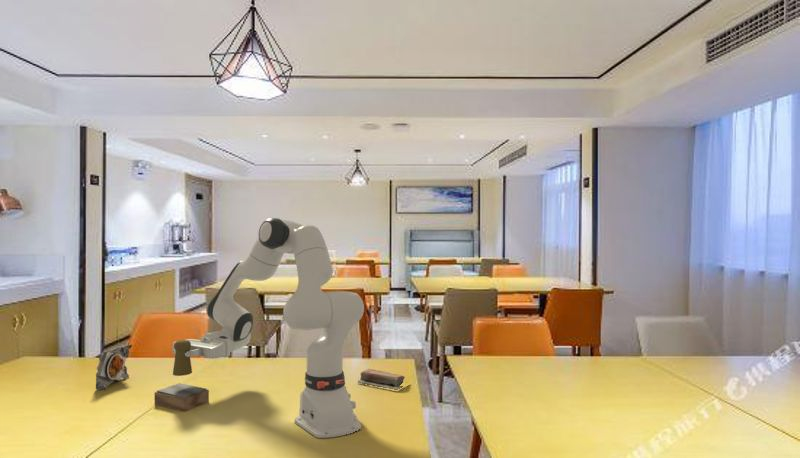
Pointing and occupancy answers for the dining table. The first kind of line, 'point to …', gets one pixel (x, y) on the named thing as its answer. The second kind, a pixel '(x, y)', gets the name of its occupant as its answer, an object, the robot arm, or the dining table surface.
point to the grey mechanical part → (112, 366)
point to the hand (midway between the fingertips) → (180, 353)
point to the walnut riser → (181, 397)
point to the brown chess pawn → (182, 358)
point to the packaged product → (381, 379)
